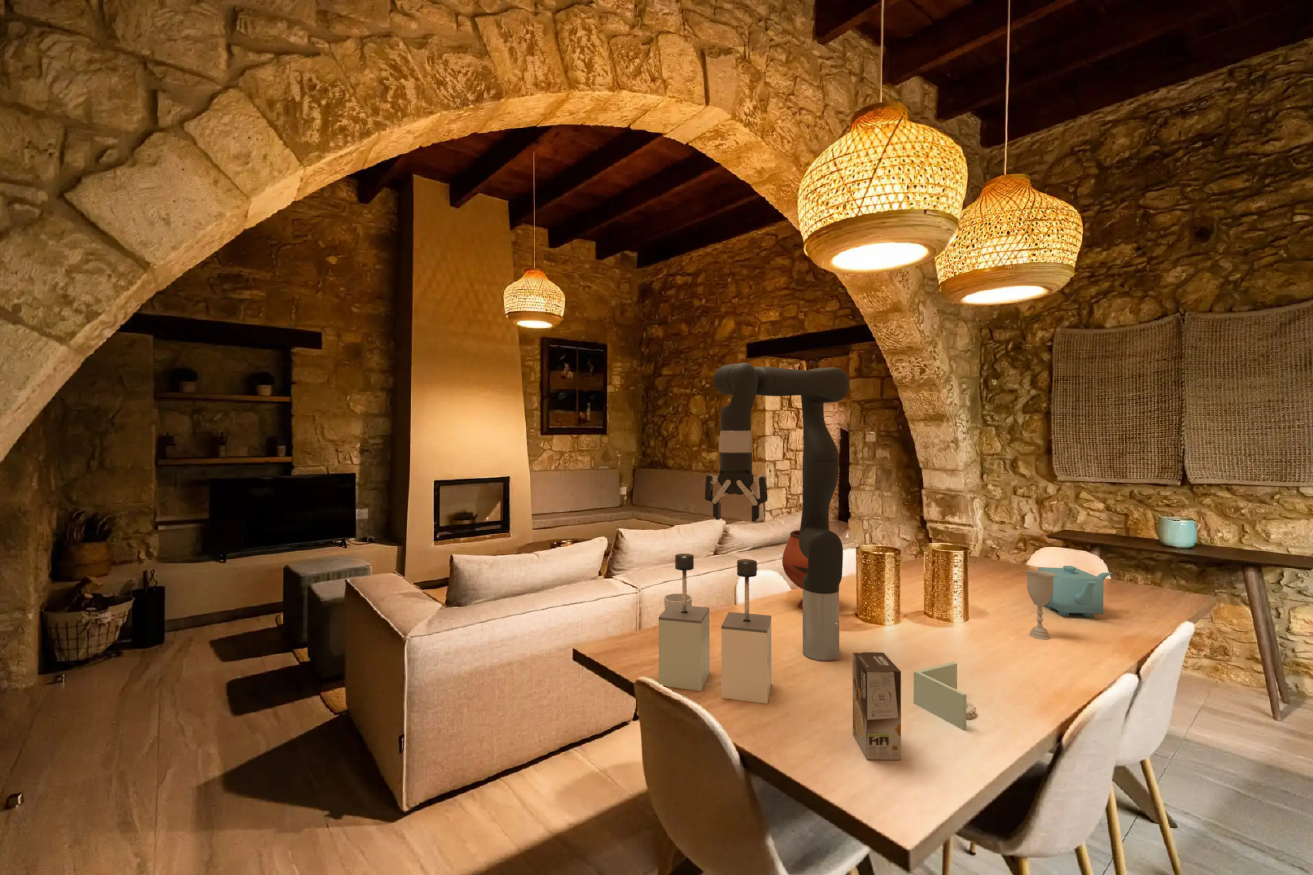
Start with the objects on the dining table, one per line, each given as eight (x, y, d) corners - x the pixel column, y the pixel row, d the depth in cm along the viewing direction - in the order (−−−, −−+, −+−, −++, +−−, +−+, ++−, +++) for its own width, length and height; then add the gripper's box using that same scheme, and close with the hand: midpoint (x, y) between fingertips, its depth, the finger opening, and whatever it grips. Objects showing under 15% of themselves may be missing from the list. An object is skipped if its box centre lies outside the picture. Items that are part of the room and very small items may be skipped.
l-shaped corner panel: (963, 732, 112) (963, 695, 112) (913, 705, 123) (913, 671, 123) (1004, 720, 117) (1004, 683, 117) (952, 694, 128) (952, 661, 128)
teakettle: (1047, 599, 196) (1047, 557, 195) (1115, 613, 181) (1115, 567, 180) (1025, 611, 184) (1025, 565, 184) (1096, 626, 169) (1096, 577, 169)
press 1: (709, 672, 139) (709, 607, 138) (701, 690, 129) (700, 620, 129) (669, 667, 141) (669, 604, 141) (658, 685, 132) (658, 617, 132)
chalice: (1027, 638, 160) (1027, 574, 160) (1022, 630, 166) (1022, 569, 166) (1058, 642, 157) (1058, 577, 157) (1051, 633, 163) (1052, 571, 163)
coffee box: (902, 760, 102) (903, 671, 102) (866, 760, 102) (866, 671, 102) (883, 733, 111) (884, 651, 111) (850, 732, 111) (850, 651, 111)
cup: (681, 647, 155) (681, 603, 155) (658, 640, 160) (658, 598, 159) (697, 638, 161) (697, 596, 161) (674, 632, 166) (674, 591, 166)
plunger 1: (704, 632, 138) (704, 552, 137) (697, 644, 130) (697, 560, 130) (672, 629, 140) (672, 551, 140) (664, 640, 132) (663, 558, 132)
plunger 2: (766, 641, 132) (766, 558, 131) (763, 654, 124) (762, 566, 124) (732, 637, 134) (731, 556, 134) (726, 650, 126) (726, 564, 126)
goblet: (845, 602, 193) (845, 529, 193) (838, 620, 176) (838, 540, 175) (788, 596, 201) (788, 525, 200) (776, 612, 183) (776, 535, 183)
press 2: (771, 683, 133) (771, 615, 132) (767, 703, 123) (767, 630, 123) (728, 678, 135) (728, 611, 135) (721, 697, 126) (721, 625, 125)
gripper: (769, 450, 132) (769, 519, 132) (710, 449, 137) (711, 516, 138) (763, 451, 125) (763, 524, 125) (701, 450, 131) (701, 521, 131)
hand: (735, 520), depth 132 cm, fingers open, 8 cm apart
